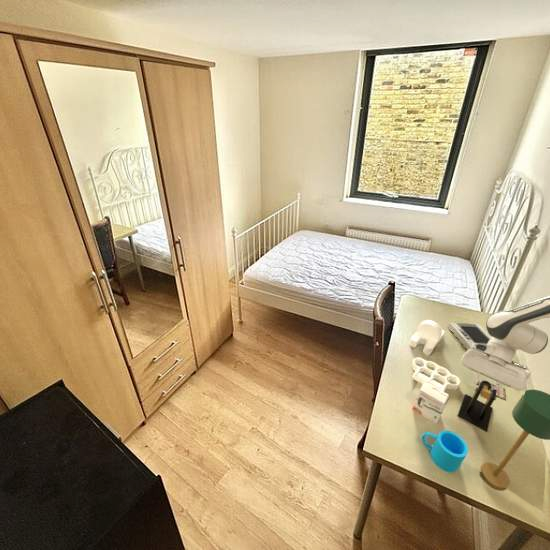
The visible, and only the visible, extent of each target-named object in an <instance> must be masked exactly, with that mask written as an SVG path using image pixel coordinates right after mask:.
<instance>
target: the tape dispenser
mask: <svg viewBox="0 0 550 550" xmlns="http://www.w3.org/2000/svg"><path fill="white" fill-rule="evenodd" d="M445 332H446V331H445V330H444V329H442V327H441V325H440V324H439V323H438V322H436V321H434V320H431V319H426V320H423V321H422V322H421V323H420V324H419V325H418V326H417V329H416V331H415V333H414V334H413V335H412V336H411V337H410V339H409V342H408V345H409V346H410V347H412V348H413V349H415V348H416V347H417V346H418V345H419V344H420V345H423V349H422V353H423V354H426V355H431V354H432V353H433V351H434V350H435V348H436V347H437V346H438V345H439V343H440V342H441V340H442V339H443V337H444V334H445Z"/></svg>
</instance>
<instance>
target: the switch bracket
mask: <svg viewBox="0 0 550 550" xmlns="http://www.w3.org/2000/svg"><path fill="white" fill-rule="evenodd" d="M482 387H483V384H482V383H480V384H479V386H477V387H475V389H474V393H473V394H472V396H470V395H469V394H466V393H465V394H464V396H463V399H462V402H461V405H460V406H459V407H460V408H459V410H458V413H457V417H458V418H461V419H462V420H464V421H465V422H467V423H469V424H470V425H473V426H475V427H477V428H478V429H480V430H482V431H484V432H485V433H487V432H488V429H489V425H490V423H491V417H492V413H493V410H494V408H493V407H492V405H493V403H494V401H496V400H497V398H498V397H496V392H497V390H495V389H493V391H492V392H491V394H490V396H489V398H488V400H487V399H486V401H485V403H484V402H483V401H480V400H479V397H480V394H481V392H482Z"/></svg>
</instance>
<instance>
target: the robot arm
mask: <svg viewBox="0 0 550 550" xmlns="http://www.w3.org/2000/svg"><path fill="white" fill-rule="evenodd" d="M542 319H543V320H544V319H550V295H548V296H544V297H541V298H539V299H535V300H533V301H529V302H527V303H524V304H522V305H519V306H516V307H513V308H510V309H504V310H500V311H496V312H494V313H492V314H491V315H490V316H489V317H487V319H486V322H485V327H486V332H487V333H488V334H489V335H490V336H492V337H491V339H490V340H489V341H488V343H487V345H485V344H478V343H474V344H472V345H471V349H468V350H467V349H466V351H465V352H464V354H463V356H462V357H461V359H460V360H459V364H460V365H461V366H462V367H464V368H466V369H469V370H470V371H473V372H474V373H475V374H474V377H475V383H474V385H475V386H477V387H478V386H479V384H480V383H481V382H482V381H481V380H480V379H479V377H480V376H481V375H482V376H484V377H486V378H489V379H491V380H493V381H495V382H496V387H491V389H490V390H489V391H491V392H492V391H493V389H495V390H496V389H497V388H499V387H501V388H502V386H503V385H504V386H506V387H508V388H510V389H513V390H515V391H517V392H522V391H524V390H525V388H526V384H527V380H528V379H530V377H531V373H532V372H531V370H530V369H529V368H528V367H527V366H526V365H523V364H521V363H518V362H516V361H514V359H515V356H516V352H517V351H522V352H523V353H526V354H531V355H535V354H539V353H541V352H543V351H544V350H546V348H547V346H548V342H549V337H548V334H547V333H546V332H545V331H544V330H542V329H541V328H538V326H535V325H533V324H531V323H533V322H536V321H539V320H542Z"/></svg>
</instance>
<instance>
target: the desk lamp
mask: <svg viewBox="0 0 550 550" xmlns="http://www.w3.org/2000/svg"><path fill="white" fill-rule="evenodd" d="M511 415H512V418H513V420H514V422H515V423H516V424H517V425H518V426H519V428H521V429H522V431H521V433H520V435H519V436H518V437H517V439H516V440H515V442H514V443H513V444H512V446H511V447H510V449H509V450H508V451H507V453H506V454H505V455H504V457H503V458H502V459H501V461H500V462H499V464H498V465H497V464H495V463H493V462H489V461H487V462H483V463H482V465H481V466H480V471H479V475H480V477H481V479H482V480H483V481H484V483H485V484H486V485H487V486H489V487H491V488H492V489H494V490H495V491H496V490H497V491H501V492H502V491H505V490H507V488H508V487H509V486H510V478H509V476H508V475H507V473H506V471H504V469H505V467H506V466H507V464H508V463H509V462H510V461H511V459H512V458H513V456H514V455H515V454H516V452H517V451H518V450H519V448H520V447H521V446H522V444H523V443H524V442H525V441H526V439H527V438H528V436H529V435H530V436H533V437H535V438H537V439H541V440H546V441H550V394H549V393H547V392H545V391H542V390H539V389H527V390H525V391H524V392H523V394H522V395H521V397H520V399H519V400H518V401H517V403H516V405H515V406H514V407H513V409H512V411H511Z"/></svg>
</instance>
